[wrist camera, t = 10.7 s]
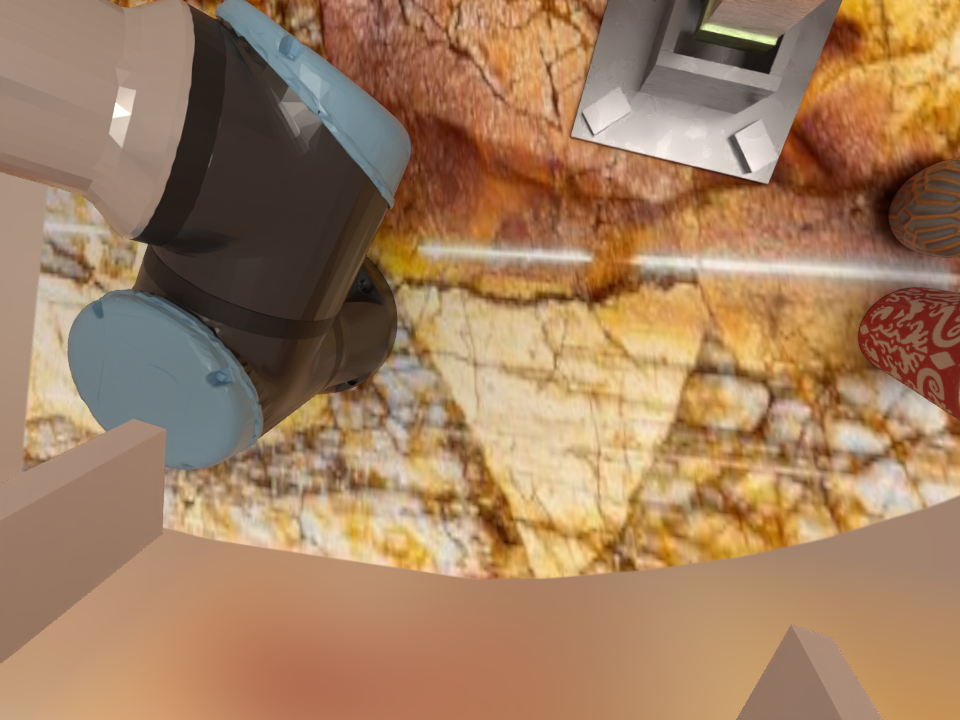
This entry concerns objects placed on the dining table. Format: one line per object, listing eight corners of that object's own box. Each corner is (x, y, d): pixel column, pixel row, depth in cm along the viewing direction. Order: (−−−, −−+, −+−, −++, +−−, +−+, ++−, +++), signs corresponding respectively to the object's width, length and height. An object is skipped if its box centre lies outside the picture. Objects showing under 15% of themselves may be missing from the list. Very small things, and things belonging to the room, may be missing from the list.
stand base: (570, 137, 42) (571, 118, 33) (634, -94, 37) (656, -191, 28) (763, 184, 40) (818, 177, 32) (856, -49, 35) (955, -136, 26)
